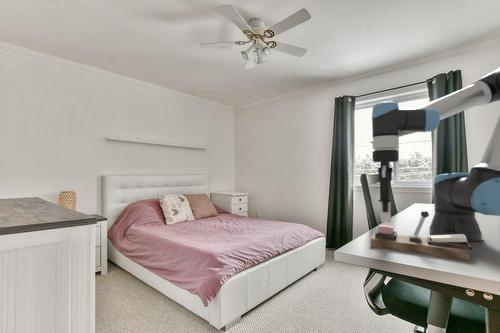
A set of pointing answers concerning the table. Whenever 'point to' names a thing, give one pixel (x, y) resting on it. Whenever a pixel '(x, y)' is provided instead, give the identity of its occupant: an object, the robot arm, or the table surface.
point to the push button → (386, 229)
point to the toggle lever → (421, 222)
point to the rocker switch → (449, 238)
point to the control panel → (421, 245)
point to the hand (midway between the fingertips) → (385, 221)
